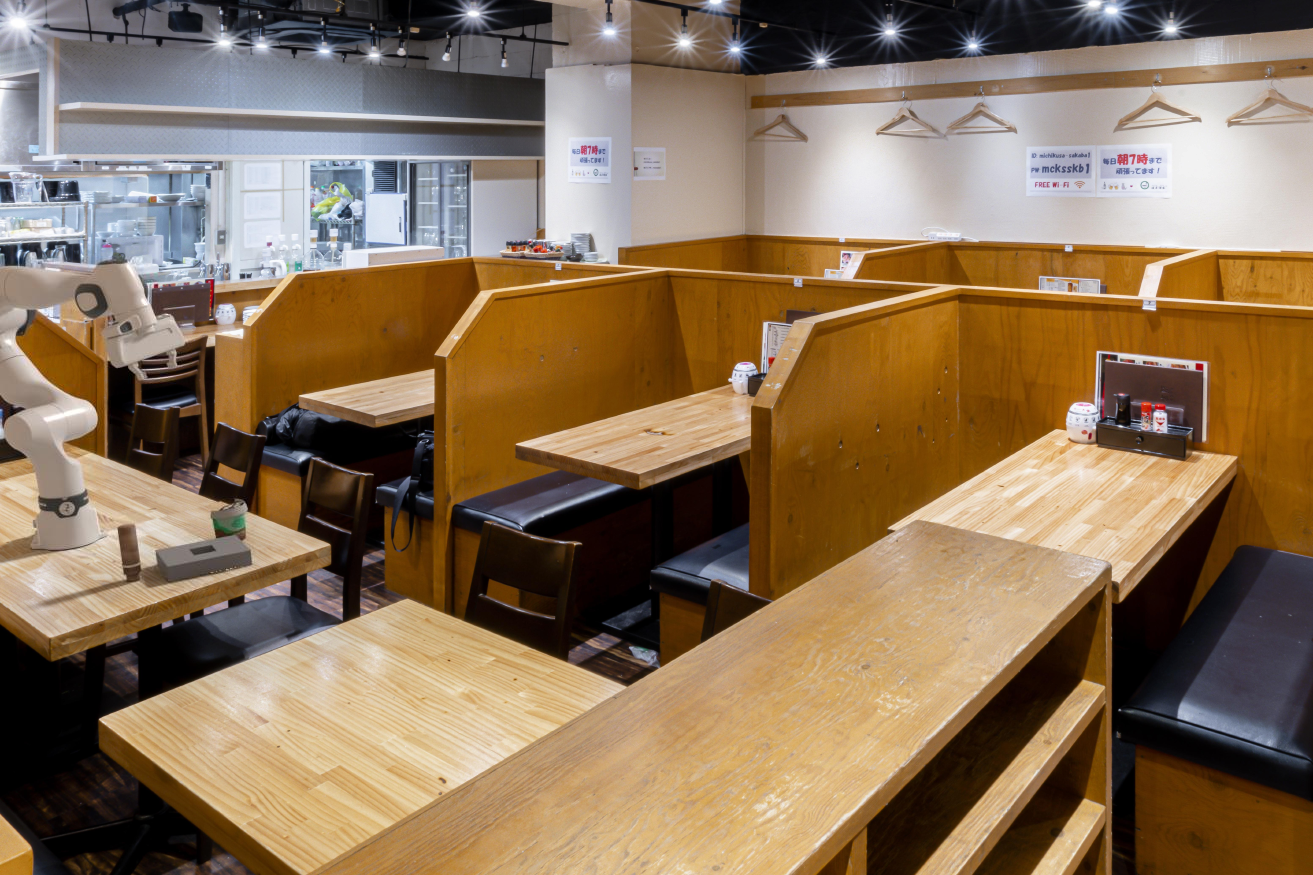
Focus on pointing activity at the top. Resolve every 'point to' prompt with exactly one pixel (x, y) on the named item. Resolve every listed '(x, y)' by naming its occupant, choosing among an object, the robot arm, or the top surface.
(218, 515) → the food container
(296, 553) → the top surface
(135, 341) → the robot arm
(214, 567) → the board
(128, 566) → the peg
